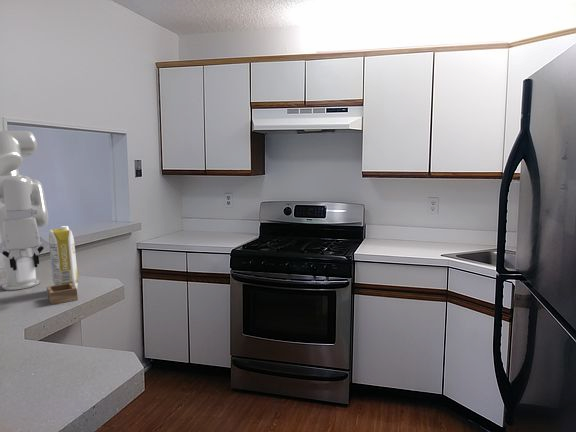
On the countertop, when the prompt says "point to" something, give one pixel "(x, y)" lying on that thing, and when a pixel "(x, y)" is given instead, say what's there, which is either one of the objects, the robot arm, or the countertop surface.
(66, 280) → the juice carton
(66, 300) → the bottle holder
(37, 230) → the robot arm
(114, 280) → the countertop surface
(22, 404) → the countertop surface
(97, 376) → the countertop surface
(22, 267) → the eye dropper bottle
